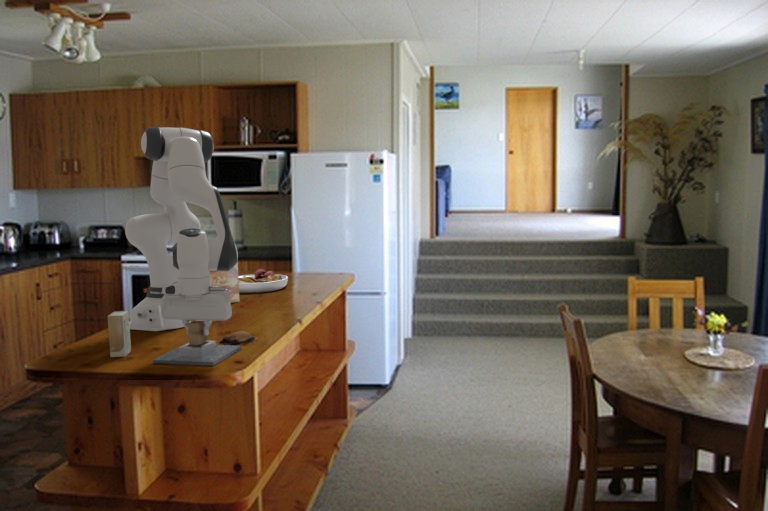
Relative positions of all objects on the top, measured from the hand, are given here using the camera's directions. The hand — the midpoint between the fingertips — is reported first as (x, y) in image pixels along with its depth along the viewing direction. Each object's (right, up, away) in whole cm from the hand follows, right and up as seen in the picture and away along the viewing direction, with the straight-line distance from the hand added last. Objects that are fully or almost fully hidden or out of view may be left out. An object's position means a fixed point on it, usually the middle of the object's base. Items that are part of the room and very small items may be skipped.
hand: (197, 335), depth 190 cm
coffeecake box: (-15, +3, +85) cm, 86 cm away
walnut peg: (0, -2, 0) cm, 2 cm away
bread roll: (+8, -5, +18) cm, 20 cm away
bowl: (-7, +7, +121) cm, 122 cm away
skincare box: (-24, -6, +5) cm, 25 cm away
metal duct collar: (0, -6, +1) cm, 6 cm away
